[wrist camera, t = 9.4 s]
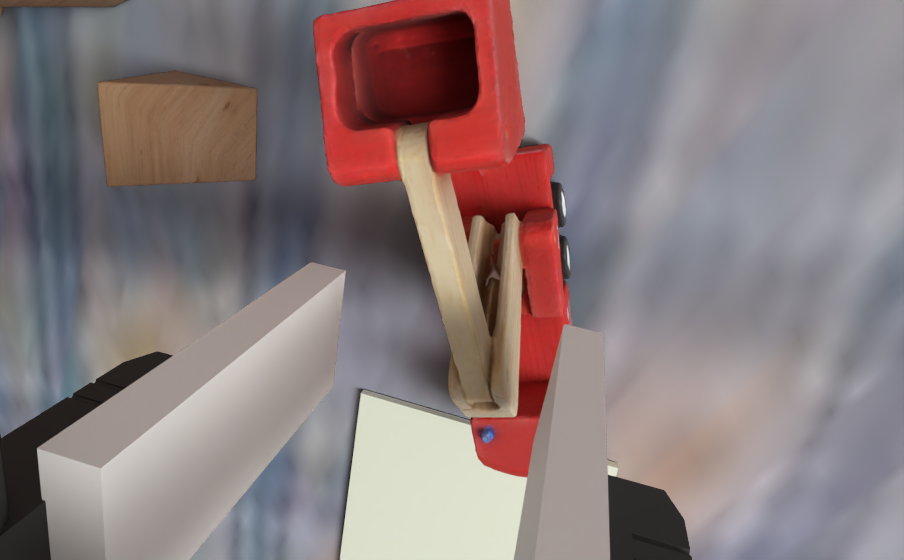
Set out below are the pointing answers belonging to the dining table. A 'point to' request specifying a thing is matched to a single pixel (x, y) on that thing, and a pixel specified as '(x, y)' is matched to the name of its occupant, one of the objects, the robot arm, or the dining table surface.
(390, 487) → the pad
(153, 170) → the wooden block set
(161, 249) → the dining table surface
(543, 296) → the toy fire truck
